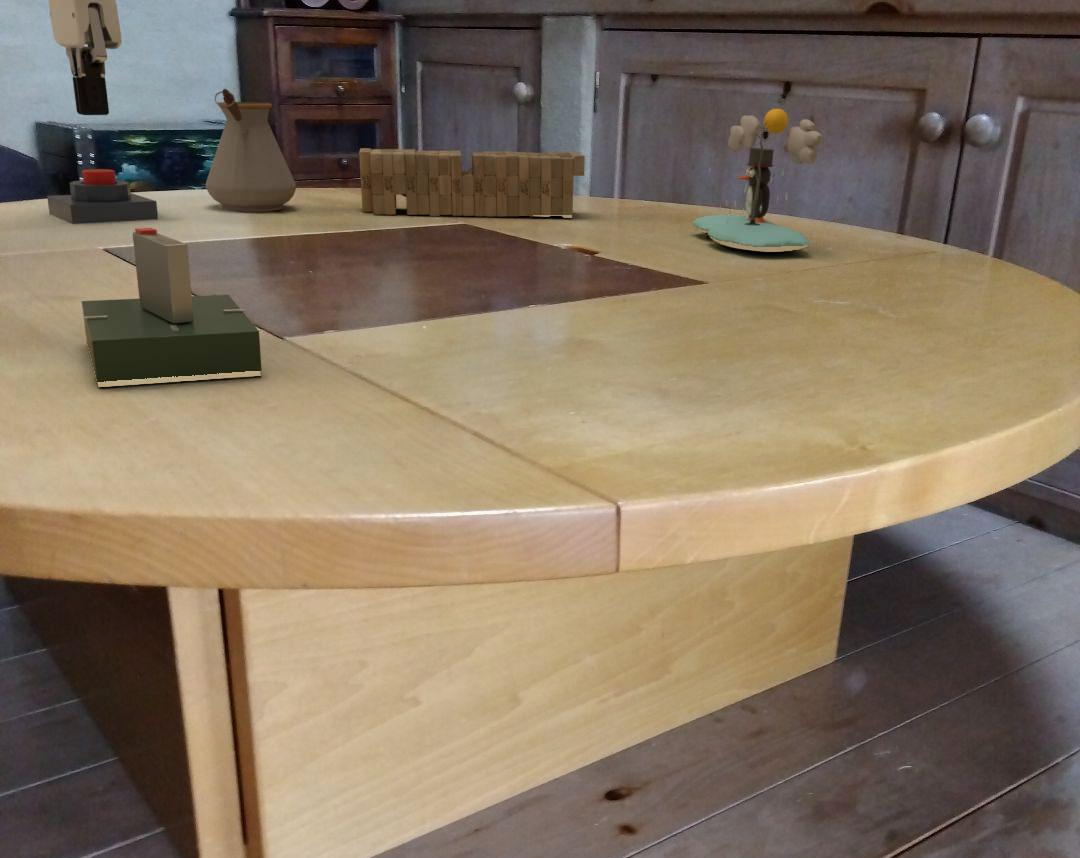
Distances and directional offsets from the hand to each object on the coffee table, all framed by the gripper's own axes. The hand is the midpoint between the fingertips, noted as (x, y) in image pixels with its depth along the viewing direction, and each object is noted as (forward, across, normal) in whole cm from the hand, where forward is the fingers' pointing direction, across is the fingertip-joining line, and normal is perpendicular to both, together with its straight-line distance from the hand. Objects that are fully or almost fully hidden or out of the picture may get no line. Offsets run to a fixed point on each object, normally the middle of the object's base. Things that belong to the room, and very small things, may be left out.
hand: (93, 114), depth 131 cm
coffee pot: (+12, -3, -17) cm, 21 cm away
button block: (+12, 0, 0) cm, 12 cm away
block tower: (+12, -14, -44) cm, 48 cm away
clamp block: (+11, -68, +18) cm, 72 cm away
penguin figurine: (+12, -50, -59) cm, 78 cm away
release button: (+8, 0, 0) cm, 8 cm away
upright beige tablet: (+8, -68, +18) cm, 71 cm away
